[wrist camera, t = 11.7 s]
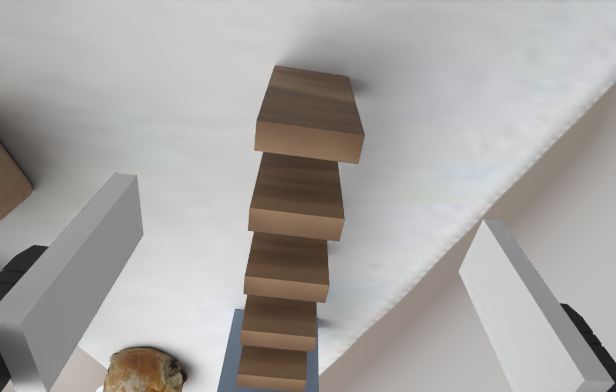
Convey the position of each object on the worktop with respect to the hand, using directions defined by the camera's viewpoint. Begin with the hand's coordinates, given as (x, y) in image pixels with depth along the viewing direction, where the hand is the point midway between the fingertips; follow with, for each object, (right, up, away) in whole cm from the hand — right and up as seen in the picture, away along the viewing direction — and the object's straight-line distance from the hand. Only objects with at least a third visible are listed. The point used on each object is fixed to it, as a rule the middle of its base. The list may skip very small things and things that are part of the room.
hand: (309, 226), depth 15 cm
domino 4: (-3, -9, +29) cm, 31 cm away
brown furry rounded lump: (-22, -22, +38) cm, 49 cm away
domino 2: (-2, +1, +23) cm, 23 cm away
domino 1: (-1, +6, +20) cm, 21 cm away
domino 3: (-2, -4, +26) cm, 27 cm away
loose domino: (0, +11, +17) cm, 20 cm away
